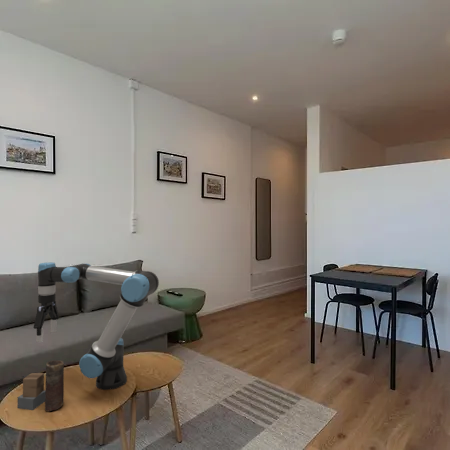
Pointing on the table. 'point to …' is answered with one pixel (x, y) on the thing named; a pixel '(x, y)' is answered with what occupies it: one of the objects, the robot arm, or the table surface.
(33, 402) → the base block
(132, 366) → the table surface
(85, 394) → the table surface
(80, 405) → the table surface
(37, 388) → the walnut block
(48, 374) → the candle
